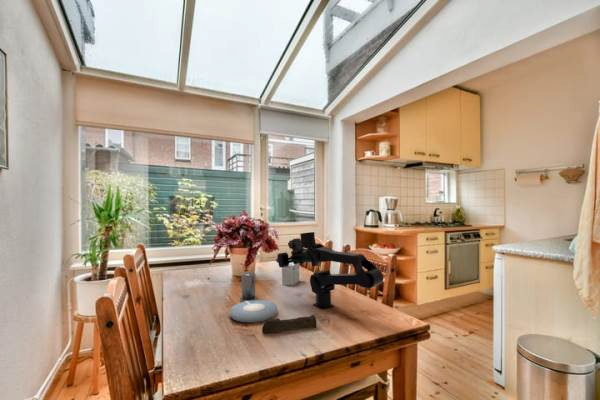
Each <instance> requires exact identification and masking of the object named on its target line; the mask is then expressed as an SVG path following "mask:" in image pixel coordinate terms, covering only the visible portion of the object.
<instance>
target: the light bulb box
mask: <svg viewBox="0 0 600 400" xmlns="http://www.w3.org/2000/svg"><path fill="white" fill-rule="evenodd" d="M300 271H301V269H300V263H298V264H294V263H293V262H290V263H289V266H286V267H281V285H283V286H293V287H294V285H296V284H297V283H298V282H300V280H301V279H300V273H301V272H300Z"/></svg>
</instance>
